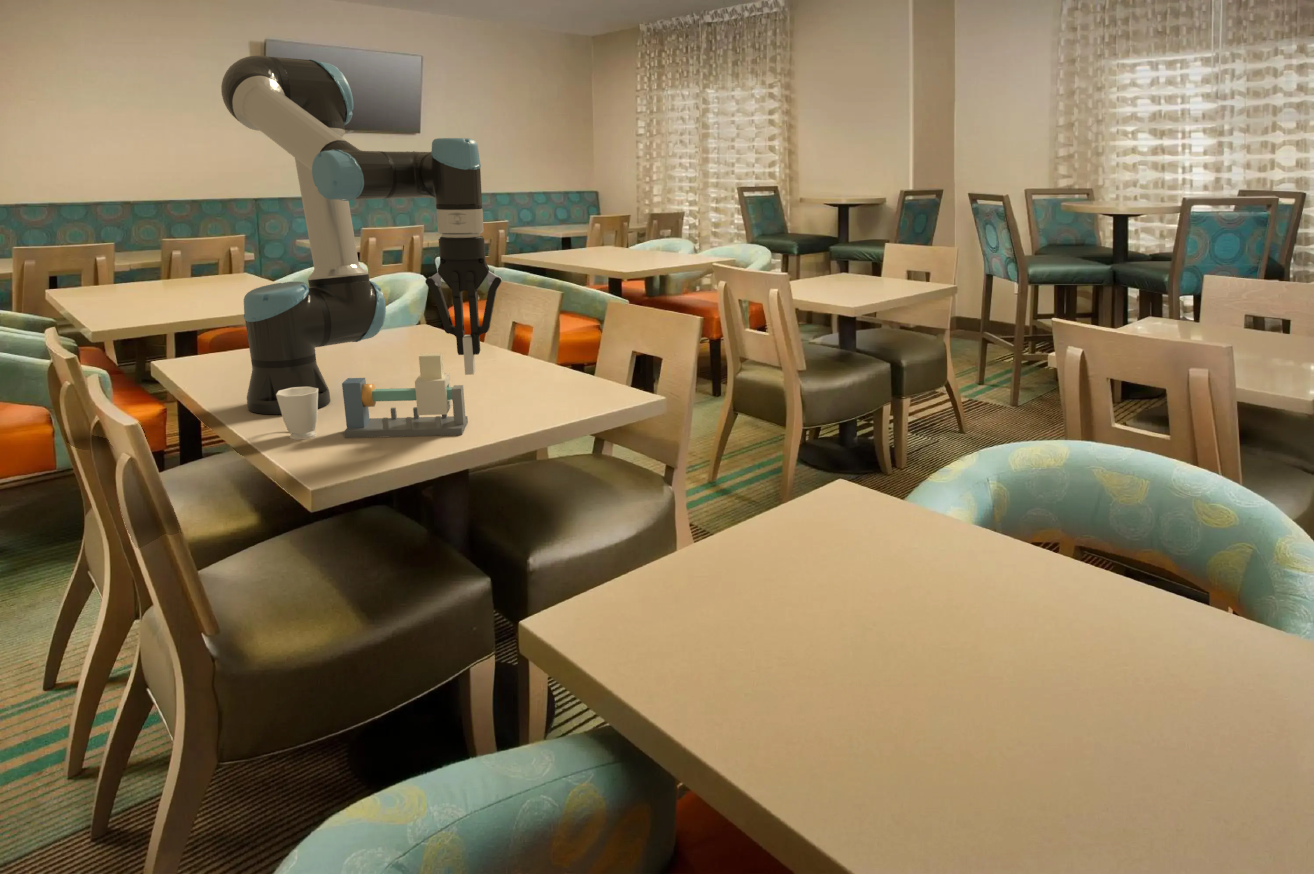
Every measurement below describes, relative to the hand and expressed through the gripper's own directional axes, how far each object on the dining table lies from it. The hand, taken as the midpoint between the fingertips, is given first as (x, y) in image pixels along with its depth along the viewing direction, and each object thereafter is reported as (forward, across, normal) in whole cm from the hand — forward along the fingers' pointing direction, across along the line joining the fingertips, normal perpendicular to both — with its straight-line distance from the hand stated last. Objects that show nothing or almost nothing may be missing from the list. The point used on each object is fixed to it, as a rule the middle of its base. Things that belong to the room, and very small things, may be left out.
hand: (470, 372), depth 154 cm
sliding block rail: (+10, -12, 0) cm, 15 cm away
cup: (+10, -30, -1) cm, 32 cm away
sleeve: (+7, -7, 0) cm, 9 cm away
